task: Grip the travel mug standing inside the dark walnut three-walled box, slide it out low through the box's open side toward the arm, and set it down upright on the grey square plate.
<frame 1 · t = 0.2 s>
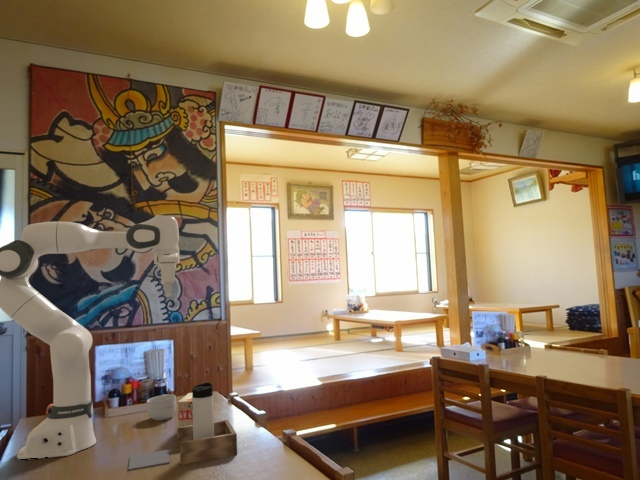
hand: (167, 296, 166), 48 cm above the table, fingers open, 8 cm apart
grey square plate: (149, 460, 136), on the table
travel mug: (204, 451, 141), on the table
walnut box: (204, 450, 141), on the table
teacup: (163, 417, 181), on the table
stack of blocks: (196, 428, 166), on the table
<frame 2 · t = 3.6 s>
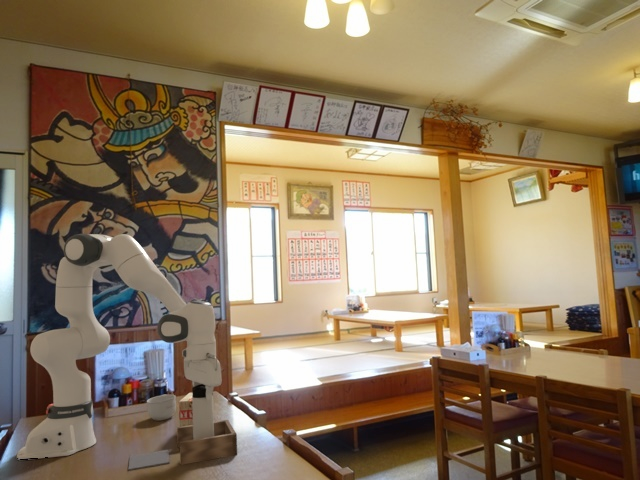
hand: (203, 397, 143), 16 cm above the table, fingers closed on travel mug, 6 cm apart
travel mug: (204, 451, 141), on the table, touching gripper
everything else where it was.
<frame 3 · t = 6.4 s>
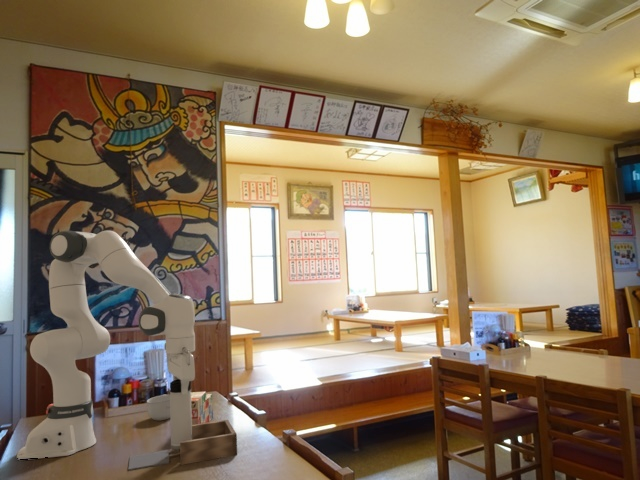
hand: (181, 391, 141), 19 cm above the table, fingers closed on travel mug, 6 cm apart
travel mug: (181, 446, 140), point 2 cm above the table, touching gripper
everything else where it was.
when the fingers open (18 cm above the table, at t = 9.0 s): travel mug stays where it is, resting on grey square plate.
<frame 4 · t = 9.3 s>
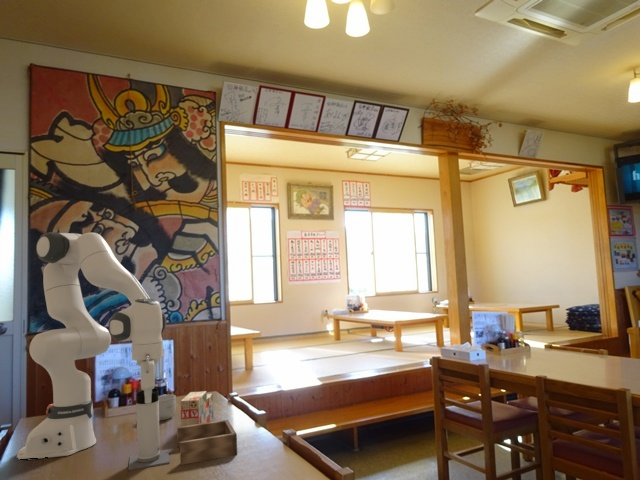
hand: (148, 399, 137), 18 cm above the table, fingers open, 8 cm apart
travel mug: (149, 459, 136), resting on grey square plate
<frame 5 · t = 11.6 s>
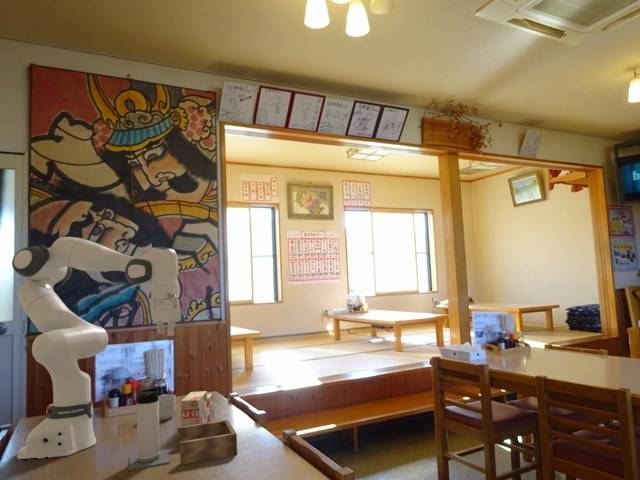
hand: (165, 334, 156), 35 cm above the table, fingers open, 8 cm apart
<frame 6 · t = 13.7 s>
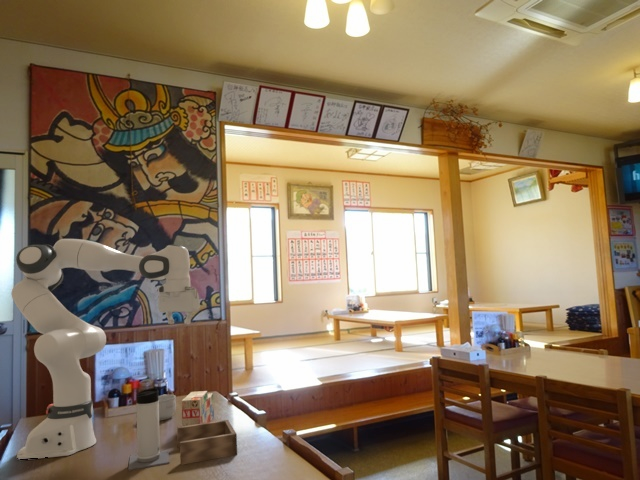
hand: (179, 324, 172), 37 cm above the table, fingers open, 8 cm apart
at the end: travel mug inside the target area on the grey square plate (0.1 cm from its centre), point 0.2 cm above the grey square plate's base; travel mug tilted 0°; the gripper is holding nothing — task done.
